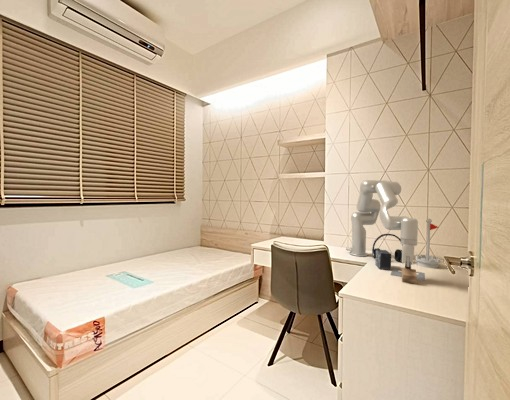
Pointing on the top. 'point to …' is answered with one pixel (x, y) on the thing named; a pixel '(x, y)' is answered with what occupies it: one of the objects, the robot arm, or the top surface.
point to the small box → (383, 259)
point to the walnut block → (409, 275)
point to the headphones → (397, 253)
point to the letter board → (399, 273)
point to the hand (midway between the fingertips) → (407, 276)
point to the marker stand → (426, 259)
